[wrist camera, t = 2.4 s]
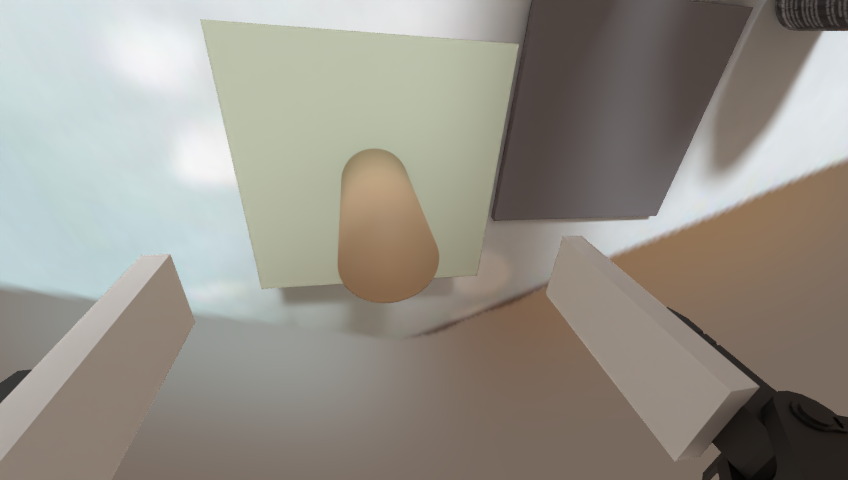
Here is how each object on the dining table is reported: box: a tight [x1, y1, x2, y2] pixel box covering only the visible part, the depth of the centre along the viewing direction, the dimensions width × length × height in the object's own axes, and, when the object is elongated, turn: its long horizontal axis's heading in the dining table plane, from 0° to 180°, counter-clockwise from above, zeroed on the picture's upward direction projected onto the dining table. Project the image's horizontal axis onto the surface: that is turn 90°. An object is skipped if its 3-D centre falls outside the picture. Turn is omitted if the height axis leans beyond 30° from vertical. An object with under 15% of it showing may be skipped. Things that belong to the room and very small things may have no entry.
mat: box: [492, 0, 753, 221], centre depth 25 cm, size 15×15×1 cm
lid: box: [200, 19, 519, 303], centre depth 16 cm, size 14×14×9 cm
